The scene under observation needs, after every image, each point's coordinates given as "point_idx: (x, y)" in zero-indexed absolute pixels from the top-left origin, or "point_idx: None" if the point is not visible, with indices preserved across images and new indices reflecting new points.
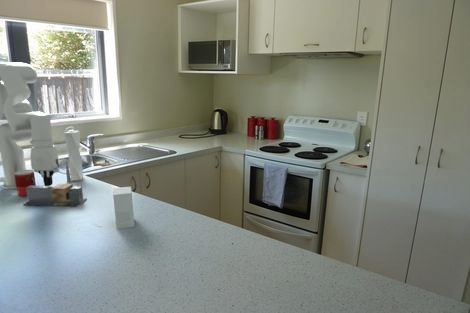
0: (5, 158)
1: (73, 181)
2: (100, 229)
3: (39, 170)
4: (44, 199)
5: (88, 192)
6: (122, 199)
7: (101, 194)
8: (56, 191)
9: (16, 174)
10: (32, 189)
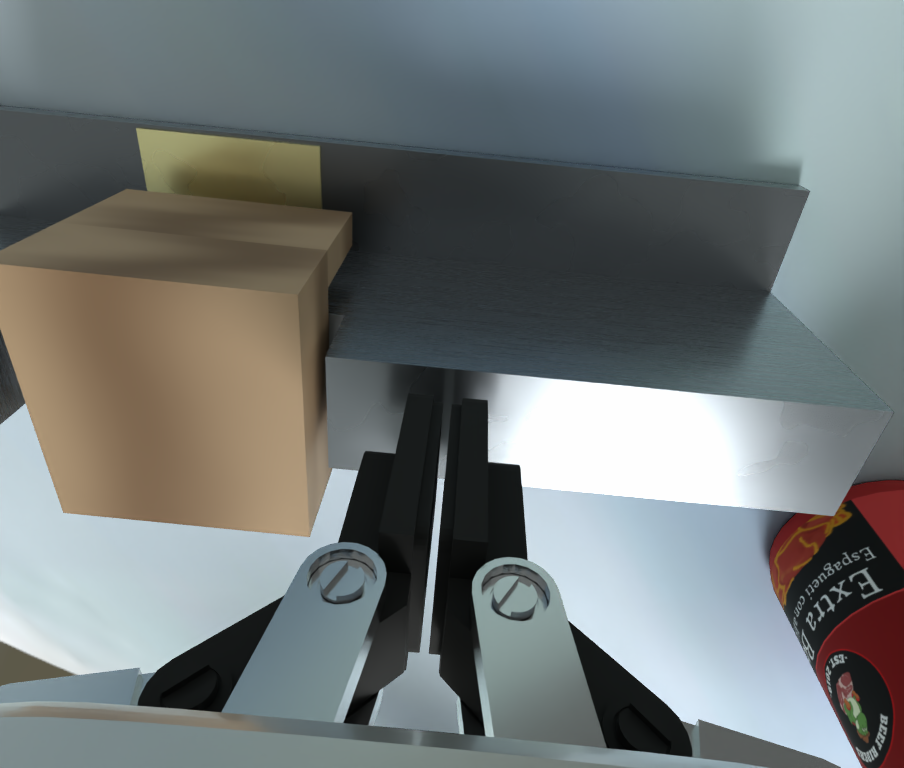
0: None
1: None
2: None
3: (569, 752)
4: (517, 283)
5: (208, 565)
6: None
7: (23, 511)
8: (200, 258)
9: None
10: (744, 378)
